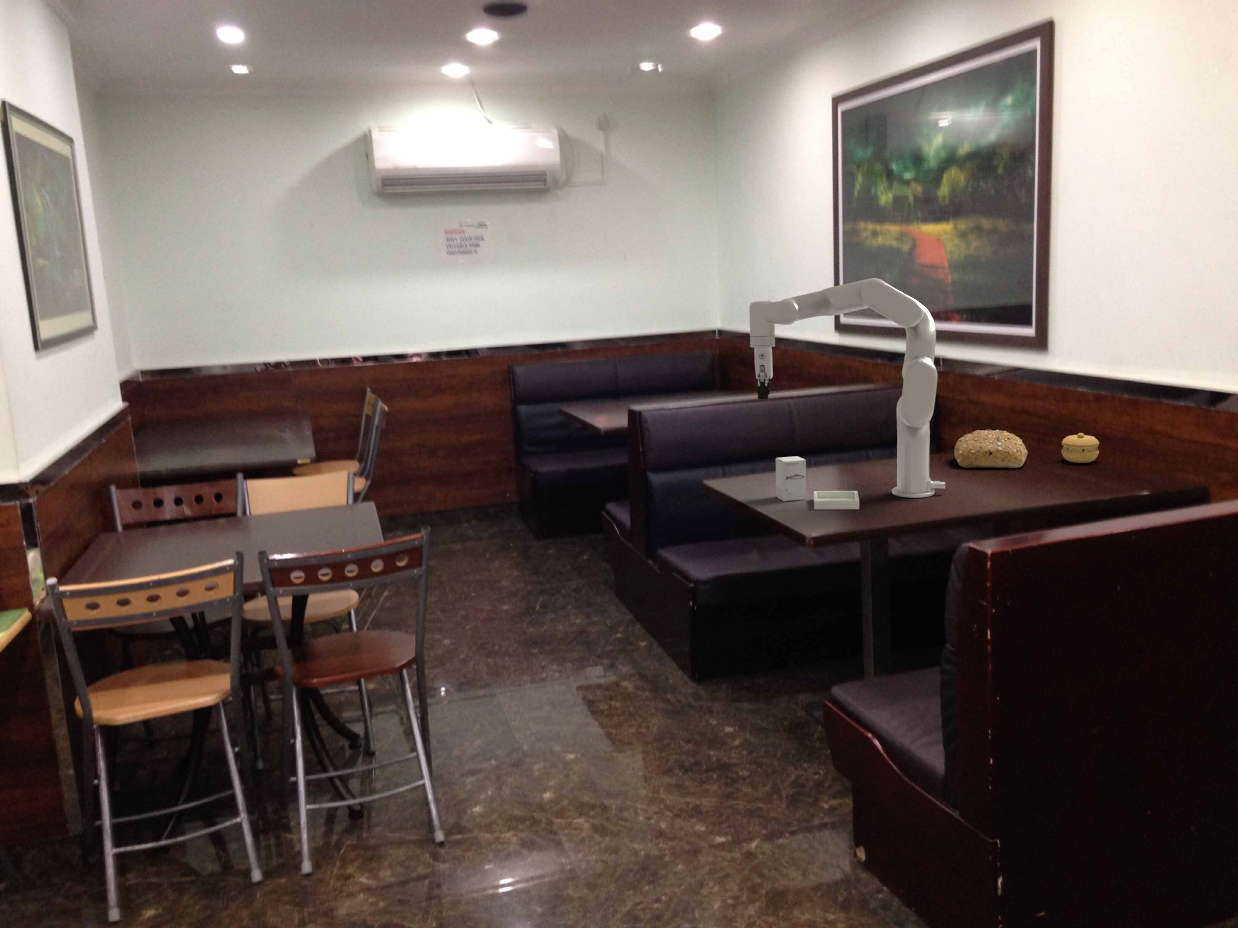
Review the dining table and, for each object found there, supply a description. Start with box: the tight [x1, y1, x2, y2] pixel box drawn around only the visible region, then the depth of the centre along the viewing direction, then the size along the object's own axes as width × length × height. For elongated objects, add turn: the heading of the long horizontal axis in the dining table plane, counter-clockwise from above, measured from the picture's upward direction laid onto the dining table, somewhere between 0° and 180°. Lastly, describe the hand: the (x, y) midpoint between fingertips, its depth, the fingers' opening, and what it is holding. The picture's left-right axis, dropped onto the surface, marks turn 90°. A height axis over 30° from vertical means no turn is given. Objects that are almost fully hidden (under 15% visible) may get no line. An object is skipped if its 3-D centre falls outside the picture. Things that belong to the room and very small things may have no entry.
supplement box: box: [775, 455, 807, 502], centre depth 320 cm, size 7×7×13 cm
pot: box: [1060, 432, 1100, 464], centre depth 352 cm, size 12×12×10 cm
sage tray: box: [813, 490, 860, 510], centre depth 311 cm, size 13×13×2 cm
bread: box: [953, 429, 1029, 469], centre depth 356 cm, size 24×21×12 cm
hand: (763, 396), depth 322 cm, fingers open, 9 cm apart
